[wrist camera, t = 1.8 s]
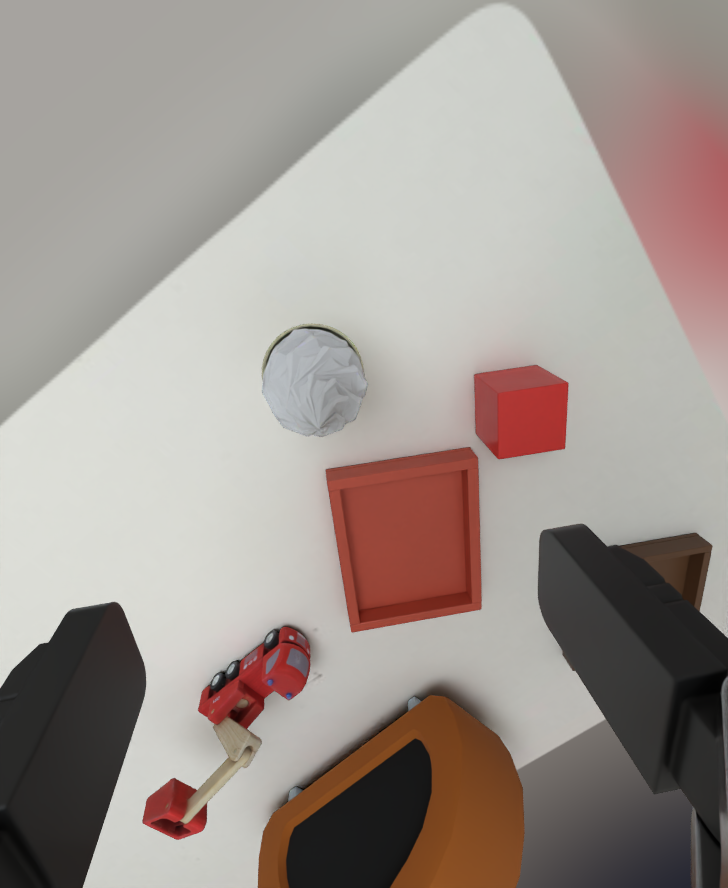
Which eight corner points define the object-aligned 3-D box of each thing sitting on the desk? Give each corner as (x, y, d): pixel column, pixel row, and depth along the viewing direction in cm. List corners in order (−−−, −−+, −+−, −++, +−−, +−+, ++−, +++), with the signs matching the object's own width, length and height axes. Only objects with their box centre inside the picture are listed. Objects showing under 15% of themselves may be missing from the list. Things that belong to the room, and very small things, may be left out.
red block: (473, 373, 35) (497, 393, 30) (537, 364, 35) (569, 382, 31) (475, 433, 36) (498, 459, 32) (535, 424, 37) (565, 449, 33)
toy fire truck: (315, 639, 42) (320, 748, 33) (199, 727, 44) (175, 851, 35) (287, 617, 41) (284, 725, 32) (169, 709, 43) (136, 833, 34)
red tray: (325, 469, 36) (326, 481, 34) (469, 446, 37) (478, 457, 35) (349, 616, 41) (351, 633, 40) (474, 594, 42) (481, 609, 40)
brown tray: (568, 554, 42) (580, 568, 40) (696, 532, 42) (713, 545, 41) (562, 654, 46) (572, 671, 45) (677, 633, 47) (692, 648, 45)
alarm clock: (439, 669, 45) (511, 894, 30) (497, 714, 48) (589, 938, 33) (258, 807, 49) (240, 1065, 34) (322, 840, 53) (333, 1089, 37)
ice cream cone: (288, 390, 33) (283, 504, 20) (256, 317, 31) (225, 389, 18) (359, 363, 33) (403, 459, 20) (331, 288, 31) (359, 337, 18)
